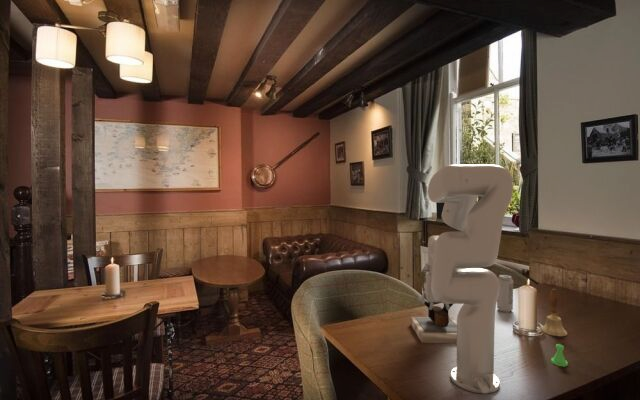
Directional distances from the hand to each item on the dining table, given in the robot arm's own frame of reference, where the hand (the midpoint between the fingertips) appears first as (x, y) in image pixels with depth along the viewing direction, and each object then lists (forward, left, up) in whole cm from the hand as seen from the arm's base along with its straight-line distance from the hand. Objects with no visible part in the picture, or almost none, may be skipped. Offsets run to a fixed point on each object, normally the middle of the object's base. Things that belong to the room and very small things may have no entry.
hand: (438, 318), depth 132 cm
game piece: (-22, -30, -6) cm, 38 cm away
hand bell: (+1, -43, -6) cm, 43 cm away
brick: (0, 0, -1) cm, 1 cm away
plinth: (0, 0, -5) cm, 5 cm away
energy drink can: (+23, -36, -6) cm, 43 cm away
